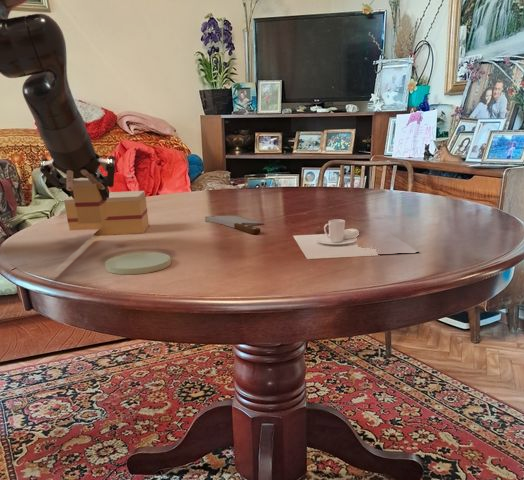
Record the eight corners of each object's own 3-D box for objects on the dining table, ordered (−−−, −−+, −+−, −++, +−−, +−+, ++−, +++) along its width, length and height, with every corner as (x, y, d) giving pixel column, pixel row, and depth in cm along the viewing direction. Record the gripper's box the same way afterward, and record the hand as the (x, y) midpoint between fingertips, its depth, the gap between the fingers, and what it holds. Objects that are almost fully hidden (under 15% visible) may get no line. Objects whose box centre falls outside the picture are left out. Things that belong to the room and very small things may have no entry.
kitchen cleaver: (285, 227, 111) (243, 230, 106) (285, 231, 111) (244, 235, 107) (238, 213, 131) (201, 215, 126) (238, 217, 131) (201, 220, 127)
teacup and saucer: (355, 236, 102) (356, 216, 101) (365, 245, 95) (366, 223, 93) (312, 238, 102) (312, 218, 100) (319, 247, 95) (319, 225, 93)
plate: (99, 276, 82) (98, 270, 82) (112, 259, 92) (111, 254, 92) (168, 272, 83) (167, 266, 82) (173, 256, 93) (172, 250, 92)
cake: (70, 236, 113) (63, 199, 110) (81, 228, 122) (75, 193, 119) (143, 233, 114) (138, 196, 111) (149, 225, 123) (144, 190, 120)
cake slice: (78, 223, 100) (70, 181, 97) (85, 218, 106) (78, 178, 102) (101, 222, 100) (95, 180, 97) (108, 217, 106) (102, 177, 103)
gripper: (108, 116, 89) (128, 181, 105) (24, 118, 88) (57, 183, 104) (106, 150, 86) (127, 211, 102) (19, 152, 85) (54, 214, 101)
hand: (92, 197), depth 103 cm, fingers closed on cake slice, 4 cm apart
